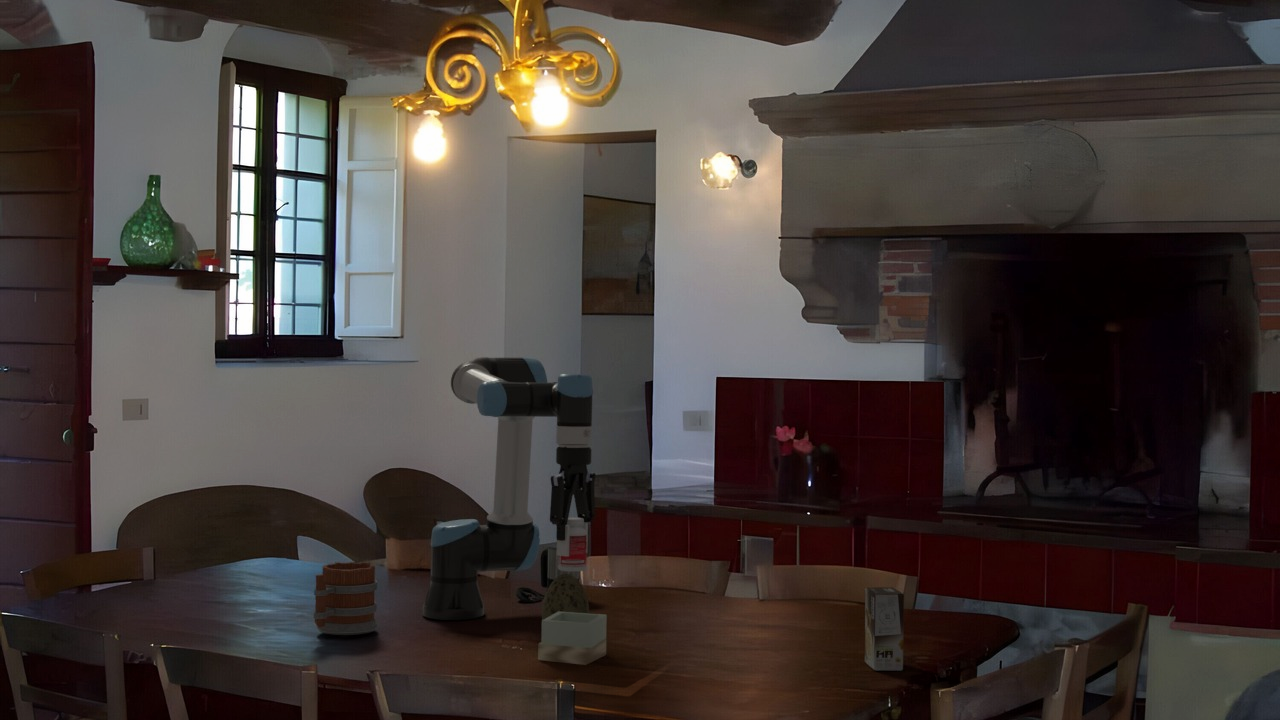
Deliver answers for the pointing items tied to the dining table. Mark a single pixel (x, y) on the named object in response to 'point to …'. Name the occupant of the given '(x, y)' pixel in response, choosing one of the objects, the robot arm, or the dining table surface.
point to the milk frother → (545, 574)
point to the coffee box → (884, 628)
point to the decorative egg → (564, 597)
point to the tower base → (571, 653)
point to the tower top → (574, 629)
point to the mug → (346, 599)
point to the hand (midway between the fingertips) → (572, 553)
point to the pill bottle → (575, 547)
